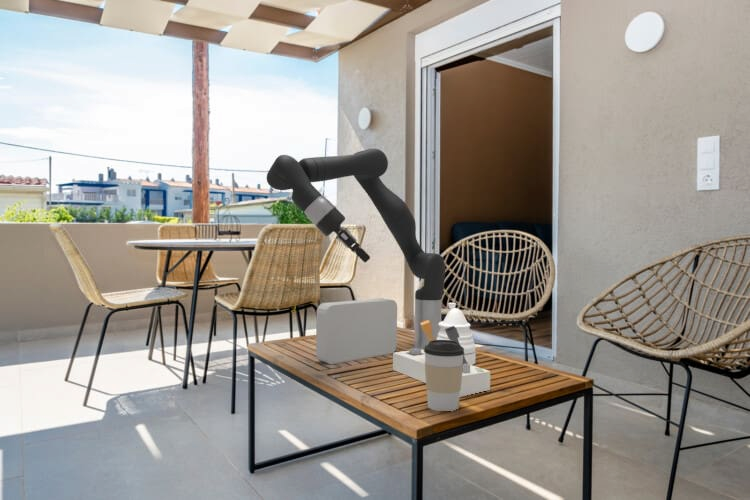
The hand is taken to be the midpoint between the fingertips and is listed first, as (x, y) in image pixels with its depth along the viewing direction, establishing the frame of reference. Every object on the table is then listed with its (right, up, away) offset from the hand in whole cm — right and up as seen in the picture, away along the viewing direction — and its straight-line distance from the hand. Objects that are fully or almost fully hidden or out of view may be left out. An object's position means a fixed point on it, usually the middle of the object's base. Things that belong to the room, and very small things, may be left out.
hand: (367, 259), depth 140 cm
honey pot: (+27, -32, +18) cm, 46 cm away
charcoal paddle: (+25, -27, -13) cm, 39 cm away
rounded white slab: (-3, -32, +21) cm, 38 cm away
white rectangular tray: (+19, -32, -4) cm, 38 cm away
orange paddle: (+19, -26, -4) cm, 33 cm away
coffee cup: (+17, -33, -26) cm, 45 cm away
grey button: (+14, -29, +5) cm, 32 cm away
